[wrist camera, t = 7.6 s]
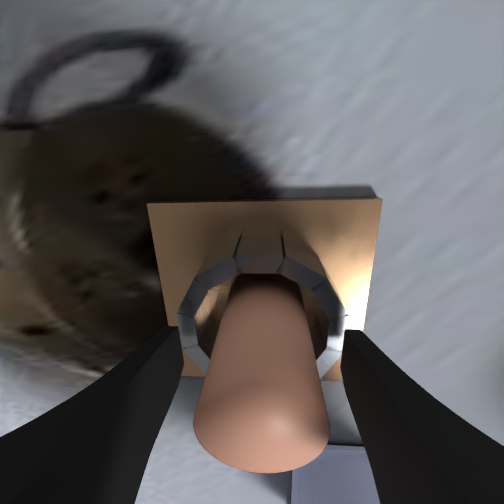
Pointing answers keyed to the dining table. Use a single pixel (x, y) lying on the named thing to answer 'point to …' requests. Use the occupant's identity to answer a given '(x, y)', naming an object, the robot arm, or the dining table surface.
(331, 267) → the cup bracket
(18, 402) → the dining table surface
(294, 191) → the dining table surface
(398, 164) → the dining table surface
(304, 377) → the rail post
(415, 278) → the dining table surface
